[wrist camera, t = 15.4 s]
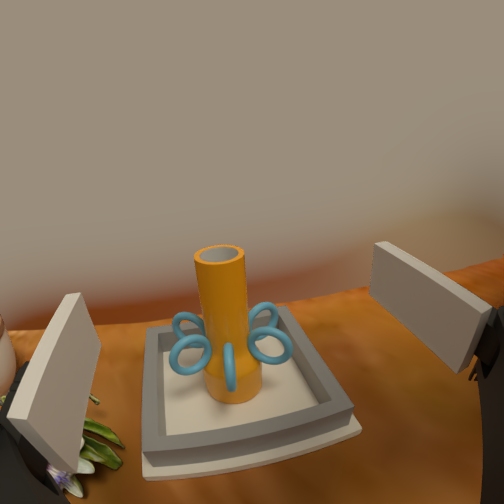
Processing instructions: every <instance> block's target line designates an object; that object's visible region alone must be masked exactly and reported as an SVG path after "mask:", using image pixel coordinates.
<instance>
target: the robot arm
mask: <svg viewBox="0 0 504 504" xmlns="http://www.w3.org/2000/svg"><path fill="white" fill-rule="evenodd" d="M369 295H370V296H371V297H373V298H374V299H375V300H376V301H377V302H378V303H379V304H381V305H382V306H383V307H384V308H385V309H386V310H387V311H389V312H390V313H391V314H392V315H393V316H394V317H395V318H396V319H398V320H399V321H400V322H401V323H402V324H403V325H404V326H405V327H406V328H408V329H409V330H410V331H411V332H412V333H413V334H414V335H415V336H416V337H417V338H418V339H420V340H421V341H422V342H423V343H424V344H425V345H426V346H427V347H428V348H429V349H430V350H431V351H433V352H434V353H435V354H436V355H437V356H438V357H439V358H440V359H441V360H442V361H443V362H444V363H445V364H446V365H447V366H448V367H449V368H451V369H452V370H453V371H454V372H455V373H456V374H458V373H460V372H461V371H462V370H464V369H465V368H467V367H468V366H469V364H470V362H471V360H472V357H473V355H476V356H477V357H478V359H477V361H476V363H475V366H474V368H473V370H472V372H471V374H470V376H469V381H471V379H472V377H473V376H474V374H476V373H477V375H476V377H475V379H474V381H478V386H479V395H480V404H481V415H482V432H483V475H482V491H481V501H480V504H504V306H501V307H499V309H498V310H497V309H496V308H494V307H493V306H491V305H490V304H488V303H487V302H485V301H484V300H482V299H481V298H479V297H478V296H476V295H475V294H473V293H472V292H470V291H469V290H467V289H466V288H464V287H463V286H461V285H460V284H458V283H456V282H454V281H453V280H451V279H449V278H448V277H446V276H445V275H443V274H441V273H440V272H438V271H436V270H435V269H433V268H431V267H430V266H428V265H426V264H425V263H423V262H422V261H420V260H418V259H416V258H415V257H413V256H411V255H410V254H408V253H406V252H404V251H403V250H401V249H399V248H397V247H395V246H394V245H392V244H390V243H389V242H387V241H386V242H380V243H375V244H374V252H373V263H372V273H371V281H370V289H369ZM100 349H101V343H100V340H99V338H98V336H97V333H96V331H95V328H94V326H93V323H92V321H91V318H90V316H89V313H88V311H87V308H86V305H85V303H84V299H83V297H82V294H81V293H74V294H67V295H65V297H64V299H63V301H62V302H61V304H60V306H59V307H58V309H57V311H56V313H55V314H54V316H53V318H52V320H51V322H50V323H49V325H48V327H47V329H46V331H45V333H44V334H43V336H42V338H41V340H40V342H39V344H38V346H37V348H36V350H35V352H34V354H33V356H32V358H31V360H30V361H26V362H25V363H24V364H23V366H22V367H21V368H20V369H19V370H18V371H17V374H16V376H15V378H14V380H13V383H12V384H11V387H10V389H9V391H10V392H8V393H7V396H6V398H5V401H4V403H3V405H2V408H1V410H0V504H70V502H69V501H68V499H67V498H66V497H65V495H64V494H63V492H62V491H61V489H60V488H59V486H58V484H57V483H56V481H55V480H54V478H53V476H52V475H51V474H50V473H49V472H48V471H47V470H46V469H47V463H48V462H49V463H50V464H51V465H52V466H53V467H54V468H55V469H57V470H58V471H66V472H76V473H77V470H78V461H79V453H80V446H81V439H82V433H83V426H84V421H85V415H86V410H87V405H88V400H89V395H90V390H91V386H92V381H93V377H94V373H95V369H96V364H97V360H98V357H99V353H100Z"/></svg>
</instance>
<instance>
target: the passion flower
mask: <svg viewBox="0 0 504 504" xmlns="http://www.w3.org/2000/svg"><path fill="white" fill-rule="evenodd" d="M5 398H6V396H2V397H1V400H0V405H1V406H2V405H3V403H4V401H5ZM89 398H90V399H91V400H92V401H93V402H94V403H95V404H96V405H99V404H100V401H99V400H98V399H97V398H96V397H94V396H93V395H92V394H91V393H90V395H89ZM83 430H84V431H87V432H90V433H93V434H96V435H99V436H100V437H102V438H105V439H107V440H108V441H110V442H113V443H115V444H117V445H119V446H121V447H122V448H123V449H125V447H124V446H123V445H122V444H121V443H120V440H119V439H118V437H117V436H116V434H115V433H114V432H112V431H111V429H110V428H108V427H106V426H104V425H102V424H100V423H97V422H95V421H94V420H92V419H90V418H85V421H84V426H83ZM90 460H92V461H94V462H100V463H101V464H103V465H105V466H107V467H109V468H111V469H115V470H117V468H118V467H119V466H122V464H123V462H122V460H121V459H120V458H119V457H118V456H117V454H116V453H115V452H114V451H113V450H112V449H111V448H110V447H109V446H107V444H104V443H101V442H99V441H97V440H95V439H93V438H90V437H87V436H86V435H84V434H83V433H82V439H81V446H80V453H79V461H78V470H77V473H76V472H66V471H58V470H57V469H55V468H54V467H53V466H52V465H51V464H50V463H49V462H48V463H47V469H46V470H47V471H48V472H49V473H50V474H51V475H52V476H53V478H54V480H55V481H56V483H57V484H58V486H59V488H60V489H61V491H62V492H63V488H65V489H67V490H68V492H70V493H71V494H73V495H75V496H77V497H80V498H82V497H83V494H84V490H83V486H82V484H81V483H80V482H79V480H78V478H77V477H76V476H75V474H78V473H81V474H93V473H94V472H95V467H94V466H93V464H92V462H91V461H90Z"/></svg>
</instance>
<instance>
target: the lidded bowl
mask: <svg viewBox="0 0 504 504" xmlns="http://www.w3.org/2000/svg"><path fill="white" fill-rule="evenodd" d="M15 373H16V357H15V352H14V348H13V345H12V342H11V339H10V337H9V334H8V332H7V330H6V328H5V326H4V321H3V319H2V317H1V315H0V400H1V397H2V396H7V393H8V392H10V391H9V389H10V387H11V384H12V383H13V380H14V378H15Z"/></svg>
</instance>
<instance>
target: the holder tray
mask: <svg viewBox="0 0 504 504" xmlns="http://www.w3.org/2000/svg"><path fill="white" fill-rule="evenodd" d="M276 308H277V310H278V321H277V324H276V326H275V328H276V329H279V330H281V331H282V332H284V333H285V334H286V335H287V336H288V337H289V338H290V340H291V342H292V345H293V353H292V356H291V357H290V359H289V360H288V361H286V362H285V363H282V364H279V365H269V364H265V363H263V362H262V387H261V389H260V391H259V393H258V394H257V395H256V396H255V397H254V398H252V399H251V400H249V401H247V402H243V403H239V404H227V403H223V402H220V401H218V400H216V399H214V398H213V397H212V396H211V395H210V394H209V392H208V390H207V387H206V384H205V379H204V375H203V370H201V371H199V372H197V373H195V374H193V375H188V376H184V375H179V374H177V373H175V372H174V371H173V370H172V369H171V367H170V364H169V354H170V351H171V349H172V348H173V346H174V345H175V344H176V343H177V342H178V341H179V339H178V338H177V336H176V335H175V333H174V331H173V328H172V325H165V326H158V327H150V328H147V332H146V343H145V356H144V371H143V391H142V474H143V478H144V479H145V480H146V481H160V480H175V479H186V478H195V477H203V476H211V475H217V474H224V473H229V472H235V471H240V470H245V469H250V468H254V467H259V466H263V465H267V464H271V463H275V462H279V461H283V460H286V459H290V458H293V457H297V456H300V455H303V454H307V453H310V452H313V451H316V450H319V449H322V448H325V447H327V446H330V445H333V444H336V443H338V442H341V441H343V440H346V439H349V438H351V437H353V436H356V435H358V434H360V433H361V431H362V427H361V425H360V424H359V422H358V421H357V419H356V418H355V416H354V415H353V410H354V407H355V406H354V405H353V403H352V402H351V400H350V399H349V397H348V396H347V394H346V393H345V391H344V390H343V388H342V387H341V386H340V384H339V383H338V381H337V380H336V378H335V377H334V375H333V374H332V372H331V371H330V369H329V368H328V367H327V365H326V364H325V362H324V361H323V359H322V358H321V356H320V355H319V353H318V352H317V350H316V349H315V347H314V346H313V345H312V343H311V342H310V340H309V339H308V337H307V336H306V334H305V333H304V331H303V330H302V328H301V327H300V325H299V324H298V322H297V321H296V320H295V318H294V317H293V315H292V314H291V312H290V311H289V309H288V308H287V306H286V305H285V306H280V307H276ZM248 313H249V312H248ZM270 319H271V313H270V311H269V310H263V311H261V312H260V313H259V314H258V315H257V316H256V317H255V319H254V320H253V323H252V331H253V330H254V329H256V328H259V327H265V326H267V325H268V324H269V322H270ZM180 329H181V331H182V332H183V333H184V335H185V336H188V335H193V334H197V335H202V336H203V334H202V332H201V330H200V328H199V327H198V326H197V325H196V324H194V323H193V322H187V323H180ZM255 344H256V346H257V347H258V349H259V350H260V352H261V353H263V354H265V355H267V356H271V357H277V356H280V355H282V354H283V353H284V346H283V344H282V343H281V342H280V341H279V340H278V339H276V338H275V337H272V336H267V337H266V338H264V339H262V340H259V341H255ZM203 351H204V348H192V347H189V346H186V347H185V348H184V349H183V350H182V351H181V352H180V354H179V356H178V364H179V365H180V366H181V367H191V366H193V365H195V364H196V363H197V362H198V361H199V360H200V359H201V356H202V353H203Z"/></svg>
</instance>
